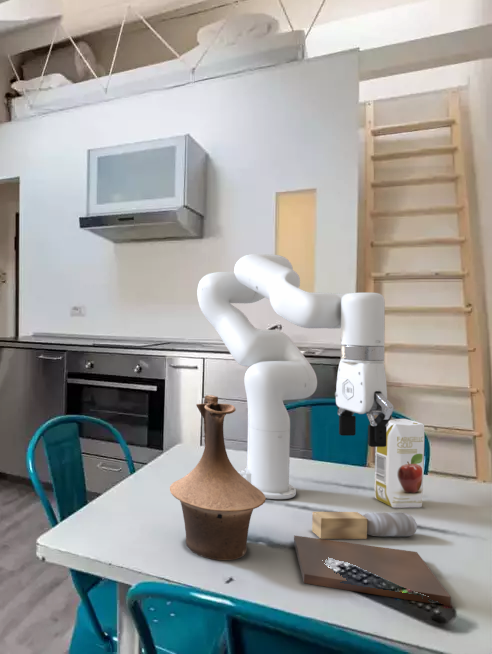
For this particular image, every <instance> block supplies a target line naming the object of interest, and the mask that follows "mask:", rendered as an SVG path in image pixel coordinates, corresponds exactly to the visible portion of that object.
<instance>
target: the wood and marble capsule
mask: <svg viewBox="0 0 492 654" xmlns="http://www.w3.org/2000/svg"><path fill="white" fill-rule="evenodd" d="M311 519H312V521H311V532H312V533H313V534H315V535H316V536H317V537H318V539H324V540H333V539H334V540H358V539H359V540H367V539H368V535H369V536H371V537H411V536H413V535H414V534H415V533H416V532H417V531H418V523H417V521H416V519H415V518H414V517H413V516H412V515H411V514H408V513H407V512H389V511H388V512H383V511H381V512H376V511H375V512H373V511H372V512H371V511H370V512H366V513H365V514H361V513H360V512H358V511H312V518H311Z"/></svg>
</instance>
